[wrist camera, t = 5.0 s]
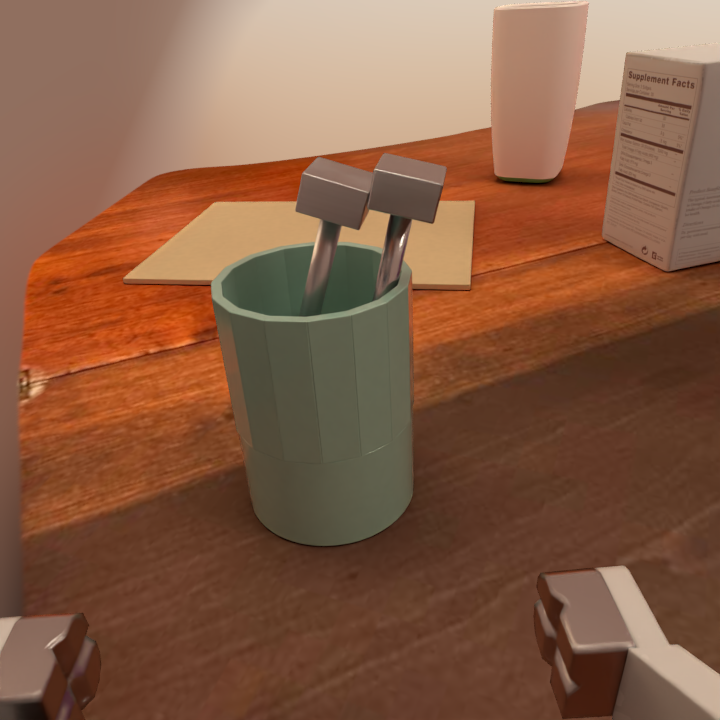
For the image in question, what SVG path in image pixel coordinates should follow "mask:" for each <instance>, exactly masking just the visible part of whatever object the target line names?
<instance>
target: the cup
mask: <svg viewBox="0 0 720 720" xmlns="http://www.w3.org/2000/svg"><path fill="white" fill-rule="evenodd" d="M588 5H589V3H588V2H587V1H570V2H547V3H526V4H511V5H504V6H499V7H496V8H495V9H494V18H493V19H494V20H493V41H492V69H491V125H492V147H493V160H494V173H495V175H496V176H498V177H499V178H500V179H501V180H504V181H515V182H531V183H545V182H550V181H551V180H552V179H554V178H555V177H556V176H557V175H558V173H559V172H560V171H561V169H562V167H563V162H564V158H565V154H566V149H567V145H568V141H569V136H570V131H571V126H572V121H573V116H574V110H575V104H576V98H577V91H578V85H579V79H580V72H581V64H582V57H583V49H584V41H585V32H586V22H587V13H588Z"/></svg>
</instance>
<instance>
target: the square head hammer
mask: <svg viewBox="0 0 720 720" xmlns="http://www.w3.org/2000/svg"><path fill="white" fill-rule="evenodd" d="M372 176H373V173H371V172H368V171H364V170H361V169H358V168H354V167H351V166H348V165H344V164H341V163H338V162H334V161H331V160H328V159H324V158H321V157H317V158H316V160H315V161H314V162H313V163H312V164H311V165H310V166H309V167H308V168H307V169H306V170H305V171H304V172H303V173H302V177H301V183H300V188H299V193H298V198H297V203H296V208H295V211H296V212H299V213H302V214H305V215H309V216H312V217H315V218H318V219H320V222H319V227H318V231H317V236H316V241H315V245H314V250H313V254H312V259H311V263H310V268H309V272H308V277H307V281H306V286H305V291H304V295H303V300H302V304H301V309H300V313H299V316H300V317H309V316H316V315H320V314H321V310H322V306H323V302H324V298H325V294H326V289H327V285H328V281H329V277H330V273H331V269H332V265H333V260H334V256H335V252H336V248H337V244H338V240H339V235H340V231H341V227H342V226H345V227H348V228H352V229H355V230H360V228H361V226H362V224H363V222H364V220H365V218H366V216H367V214H368V212H369V209H367V203H368V197H369V192H370V187H371V181H372Z"/></svg>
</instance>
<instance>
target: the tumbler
mask: <svg viewBox="0 0 720 720" xmlns="http://www.w3.org/2000/svg"><path fill="white" fill-rule="evenodd" d="M314 245H315V242H309V243H301V244H293V245H286V246H279V247H276V248H272V249H269V250H265V251H262V252H258V253H255V254H251V255H248V256H246V257H244V258H242V259H240V260H238V261H237V262H235V263H233V264H231V265H229V266H227V267H225V268H224V269H223V270H222V271H221V272H220V273H219V274H218V276H217V277H216V278H215V279H214V280H213V281H212V282H211V294H212V302H213V308H214V313H215V318H216V324H217V329H218V334H219V339H220V345H221V350H222V355H223V360H224V366H225V371H226V376H227V382H228V387H229V392H230V397H231V403H232V408H233V413H234V419H235V424H236V429H237V432H238V435H239V440H240V446H241V451H242V456H243V462H244V467H245V472H246V478H247V483H248V488H249V494H250V499H251V504H252V508H253V510H254V512H255V514H256V516H257V517H258V519H259V520H260V521H261V522H262V523H263V524H264V526H265V527H266V528H268V529H269V530H270V531H272V532H273V533H275V534H277V535H278V536H280V537H282V538H285V539H287V540H290V541H293V542H297V543H300V544H306V545H313V546H336V545H343V544H349V543H353V542H357V541H361V540H363V539H366V538H369V537H371V536H373V535H375V534H377V533H379V532H381V531H383V530H384V529H386V528H387V527H389V526H390V525H391V524H393V523H394V522H395V521H396V520H397V519H398V518H399V517H400V516H401V515H402V514H403V513H404V511H405V510H406V508H407V507H408V505H409V503H410V500H411V498H412V495H413V491H414V451H413V404H414V369H413V302H412V270H411V269H410V267H409V266H408V265H407V264H406V262H405V261H404V260H403V263H402V268H401V272H400V276H399V281H398V285H397V286H396V287H394V288H393V289H392V290H390V291H389V292H388V293H386V294H385V295H384V296H383V297H381V298H380V299H378V300H376V301H373V302H372V299H373V294H374V289H375V285H376V280H377V275H378V270H379V265H380V261H381V256H382V251H383V249H382V248H380V247H376V246H370V245H364V244H358V243H352V242H338V244H337V248H336V252H335V256H334V260H333V265H332V269H331V273H330V277H329V281H328V285H327V289H326V294H325V298H324V302H323V306H322V310H321V314H320V315H316V316H309V317H300V316H299V313H300V309H301V304H302V300H303V295H304V291H305V286H306V281H307V277H308V272H309V268H310V263H311V259H312V254H313V250H314Z"/></svg>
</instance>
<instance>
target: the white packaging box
mask: <svg viewBox="0 0 720 720" xmlns="http://www.w3.org/2000/svg"><path fill="white" fill-rule="evenodd" d="M602 237H603V238H604V239H605V240H607V241H609V242H610V243H612V244H614V245H616V246H618V247H620V248H621V249H623V250H625V251H627V252H629V253H631V254H633V255H634V256H636V257H638V258H640V259H642V260H644V261H646V262H648V263H650V264H652V265H654V266H656V267H658V268H660V269H662V270H664V271H673V270H677V269H682V268H687V267H692V266H697V265H702V264H707V263H712V262H717V261H720V43H711V44H702V45H693V46H683V47H674V48H665V49H656V50H647V51H637V52H627V53H626V58H625V66H624V73H623V81H622V88H621V96H620V103H619V110H618V118H617V125H616V133H615V141H614V148H613V155H612V162H611V170H610V177H609V184H608V192H607V199H606V206H605V214H604V222H603V229H602Z"/></svg>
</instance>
